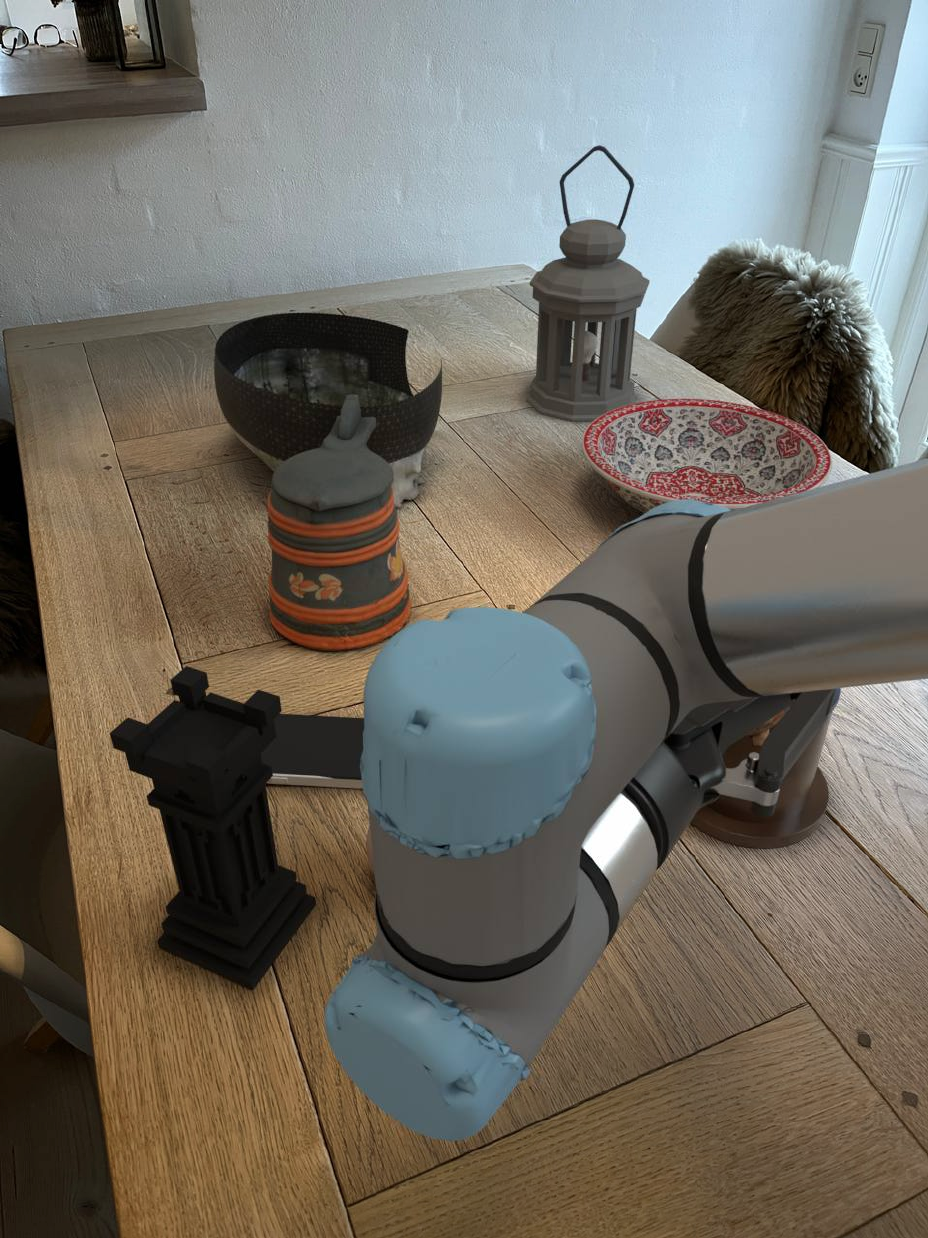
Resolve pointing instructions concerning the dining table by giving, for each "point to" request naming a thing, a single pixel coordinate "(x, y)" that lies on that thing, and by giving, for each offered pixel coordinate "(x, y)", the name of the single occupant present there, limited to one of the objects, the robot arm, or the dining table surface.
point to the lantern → (586, 318)
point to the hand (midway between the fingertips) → (765, 595)
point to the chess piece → (218, 828)
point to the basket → (324, 388)
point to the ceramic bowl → (703, 453)
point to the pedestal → (794, 808)
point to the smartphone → (316, 751)
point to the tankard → (336, 542)
